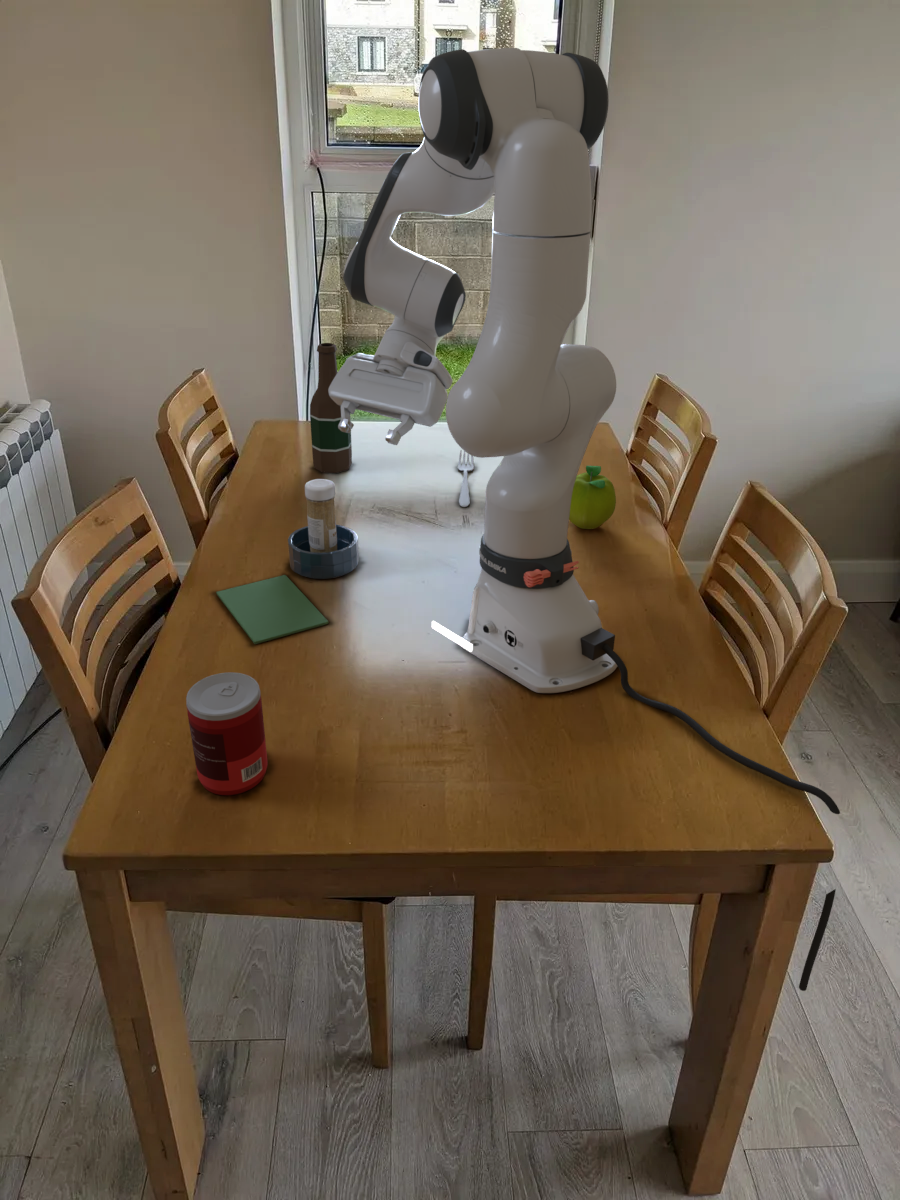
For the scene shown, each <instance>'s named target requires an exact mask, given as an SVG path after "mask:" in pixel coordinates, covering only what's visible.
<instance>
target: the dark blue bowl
mask: <svg viewBox="0 0 900 1200" xmlns="http://www.w3.org/2000/svg"><path fill="white" fill-rule="evenodd" d="M336 532H337V551H333V552H324V553H316V552H310V544H309V532H308V525H306V526H303V527H300V528H298V529H295V530H294V531H293V532H292V533H290V534H289V536H288V538H287V547H288V559H289V567H290V569H291V570H292V571H293V572H294V573H295V574H297V575H299V576H302V577H305V578H308V579H315V580H328V579H329V580H330V579H336V578H340V577H342V576H345V575H347V574H350V573H351V572H353V571H354V570H355V569H356V568H357V567H358V566H359V562H360V558H359V555H360V553H359V537H358V534H357V532H356V531H355V530H353V529H352V528H350V527H347V526H344V525H342V524H341V525H340V524H336Z"/></svg>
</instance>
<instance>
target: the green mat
mask: <svg viewBox="0 0 900 1200" xmlns="http://www.w3.org/2000/svg"><path fill="white" fill-rule="evenodd" d="M215 593H216V595H217V597H218V598H219V600H220V601H221V602H222V603H223V605H224V606H225V608H226V609H227V610H228V611H229V613H230V614H231V615H232V616H233V618H234V619H235V621H236V622H237V623H238V624H239V626H240V627H241V628H242V630H243V631H244V632H245V634H246V635H247V636H248V638H249V639H250V640H251V641H252V643H253V644H254V645H257V644H261V643H264V642H267V641H268V642H269V641H271V640H275V639H279V638H284V637H286V636H290V635H294V634H297V633H300V632H304V631H307V630H311V629H314V628H318V627H322V626H325V625H328V624H329V620H328V619H327V618H326V617H325V616H324V615H323V614H322V612H320V611H319V610H318V609H317V608H316V606H315V605H314V604H313V603H312V601H310V600H309V599H308V598H307V596H306V595H305V594H304V593H303V592H302V591H301V590H300V589H299V588H298V586H296V584H294V583H293V581H292V580H291V579H290V578H289V577H288V576H287V575H286V574H282V575H279V576H275V577H270V578H267V579H263V580H259V581H255V582H251V583H247V584H243V585H238V586H234V587H231V588H226V589H222V590H218V591H216V592H215Z"/></svg>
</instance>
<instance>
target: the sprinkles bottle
mask: <svg viewBox="0 0 900 1200" xmlns="http://www.w3.org/2000/svg"><path fill="white" fill-rule="evenodd" d="M304 496H305V499H306V508H307V509H306V510H307V512H306V513H307V514H306V519H307V526H308V532H309V544H310V552H316V553H324V552H333V551H337V532H336V525H337V517H336V507H335V498H336V485H335V483H334V482H333V480H330V479H326V478H315V479H311V480H309V481H307V482H306V483H305V484H304Z"/></svg>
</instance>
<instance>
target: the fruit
mask: <svg viewBox="0 0 900 1200" xmlns="http://www.w3.org/2000/svg"><path fill="white" fill-rule="evenodd" d="M585 471H586V472H582V473H579V474H577V477H576V480H575V483H574V487H573V492H572V498H571V506H570V515H569V522H570V523H572V524H573V525H574V526H576V527H577V528H579V529H582V530H595V529H597V528H599V527H600V526H602V525H603V524H605V523H606V522H607V521H608V520H609V519H610V518H611V517H612V516H613V514H614V512H615V510H616V506H617V497H616V490H615V487H614V484H613V482H612V481H611V480H610V479H609V478H608V477H606V476H605V475H602V474H601V473H602V466H601V465H586V466H585Z"/></svg>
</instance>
